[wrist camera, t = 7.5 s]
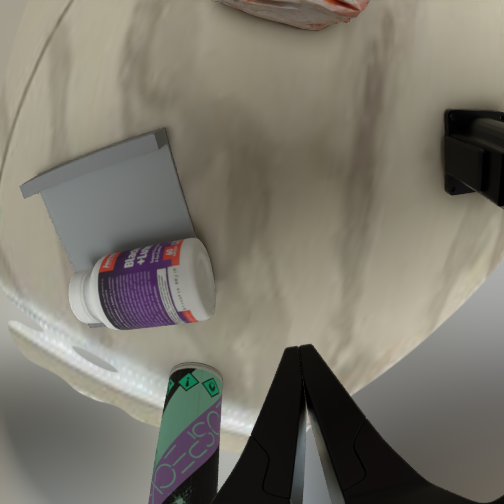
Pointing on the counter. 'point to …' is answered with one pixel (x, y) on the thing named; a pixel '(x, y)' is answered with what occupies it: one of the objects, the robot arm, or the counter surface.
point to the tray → (115, 200)
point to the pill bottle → (146, 287)
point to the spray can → (188, 438)
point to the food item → (301, 11)
